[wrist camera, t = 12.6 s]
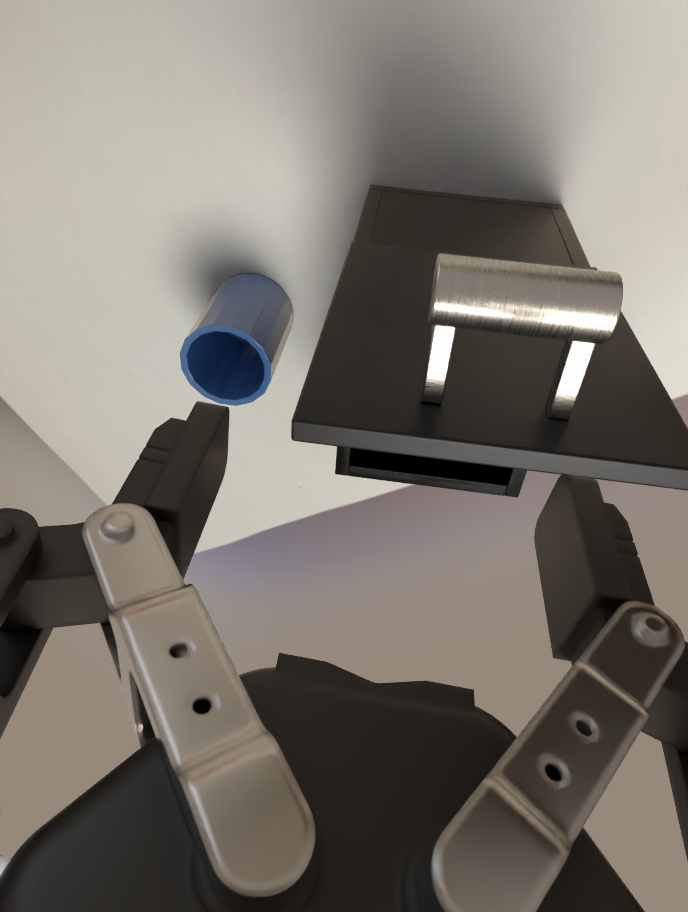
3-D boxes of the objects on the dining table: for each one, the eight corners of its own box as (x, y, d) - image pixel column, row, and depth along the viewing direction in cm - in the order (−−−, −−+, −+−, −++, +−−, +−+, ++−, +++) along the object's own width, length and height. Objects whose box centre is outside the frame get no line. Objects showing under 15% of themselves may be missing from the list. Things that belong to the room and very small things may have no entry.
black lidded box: (506, 408, 50) (518, 497, 42) (351, 389, 51) (334, 474, 43) (563, 204, 40) (593, 271, 32) (369, 184, 41) (351, 244, 33)
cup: (217, 342, 49) (184, 399, 43) (211, 268, 46) (175, 320, 39) (292, 351, 49) (271, 410, 43) (293, 277, 45) (270, 331, 39)
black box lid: (702, 493, 19) (794, 325, 15) (290, 441, 19) (294, 269, 16) (592, 282, 32) (628, 168, 29) (350, 256, 32) (359, 140, 29)
